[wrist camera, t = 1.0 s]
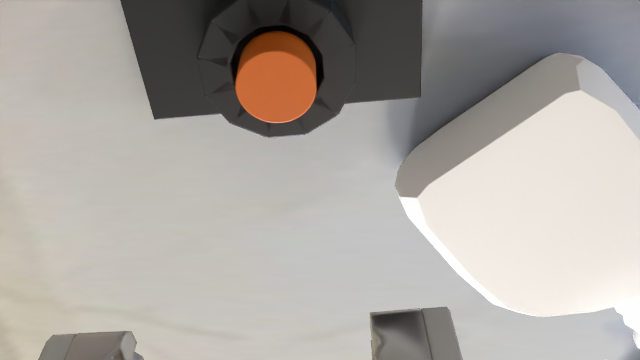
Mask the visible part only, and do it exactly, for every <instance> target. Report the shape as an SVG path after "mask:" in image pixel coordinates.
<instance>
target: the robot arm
mask: <svg viewBox="0 0 640 360" xmlns="http://www.w3.org/2000/svg"><path fill="white" fill-rule="evenodd" d="M370 329H371V338H372V340H371V349H372V360H463V358H462V355H461V351H460V347H459V343H458V340H457V336H456V332H455V328H454V325H453V321H452V317H451V313H450V310H449V309H448V308H447V307H437V308H423V309H421V310H420V308H418V309H406V310H394V311H383V312H371V313H370ZM136 344H137V342H136V339H135V337H134V335H133V333H132V331H118V332H96V333H78V334H61V335H52V336H51V337H50V339H49V340H48V341H47V342H46V343H45V346H44V348H43V350H42V352H41V355H40V357H39V359H38V360H144V359H143V357H142V356H141V355H139V354H137V353H136V352H134V351H135V347H136Z"/></svg>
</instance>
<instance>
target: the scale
mask: <svg viewBox="0 0 640 360" xmlns="http://www.w3.org/2000/svg"><path fill="white" fill-rule="evenodd" d="M120 1H121V4H122V8H123V11H124V15H125V18H126V22H127V25H128V29H129V32H130V36H131V39H132V43H133V46H134V50H135V53H136V57H137V60H138V64H139V67H140V71H141V74H142V78H143V81H144V85H145V88H146V92H147V95H148V99H149V102H150V106H151V109H152V113H153V116H154V119H168V118H180V117H192V116H204V115H216V114H222V115H223V116H224V117H225V118H226V119H227V121H228V122H229V123H232V124H233V125H235V126H238V127H241V128H243V129H246V130H249V131H251V132H254V133H256V134H259V135H262V136H264V137H268V138H272V137H284V136H296V135H305V134H307V133H309V132H311V131H312V130H314V129H316V128H317V127H319V126H321V125H322V124H324V123H326V122H327V121H329V120H330V119H332V118H334V117H335V116H337V114H339V113H340V111H341V109H342V107H343V105H344V104H348V103H360V102H372V101H384V100H396V99H408V98H420V97H421V54H422V3H423V0H120ZM269 31H284V32H288V33H291V34H293V35H295V36H297V37H299V38H300V39H302V40H303V41H304V42H305V43H306V44H307V45H308V46H309V48H310V49H311V51H312V53H313V55H314V58H315V63H316V84H317V90H316V96H315V99H314V101H313V103H312V105H311V107H310V108H309V109H308V110H307V111H306V112H305V113H304V114H303V115H301V116H300V117H298V118H296V119H294V120H292V121H289V122H284V123H270V122H266V121H262V120H260V119H258V118H256V117H254V116H252V115H251V114H250V113H248V112H247V111H246V110H245V109H244V107H243V106H242V105H241V103H240V101H239V99H238V97H237V94H236V89H235V81H236V76H237V71H238V66H239V61H240V57H241V54H242V51H243V49H244V48H245V46H246V45H247V44H248V43H249V41H251V40H252V39H253V38H254V37H256V36H258V35H260V34H262V33H265V32H269Z"/></svg>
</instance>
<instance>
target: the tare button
mask: <svg viewBox="0 0 640 360" xmlns="http://www.w3.org/2000/svg"><path fill="white" fill-rule="evenodd" d="M235 89H236V94H237V97H238V99H239V101H240V103H241V105H242V106H243V107H244V109H245V110H246V111H247V112H248V113H250V114H251V115H252V116H254V117H256V118H258V119H260V120H262V121H266V122H270V123H284V122H289V121H292V120H294V119H296V118H298V117H300V116H301V115H303V114H304V113H305V112H306V111H307V110H308V109H309V108H310V107H311V105H312V103H313V101H314V99H315V96H316V90H317V84H316V63H315V58H314V55H313V53H312V51H311V49H310V48H309V46H308V45H307V44H306V43H305V42H304V41H303V40H302V39H300V38H299V37H297V36H295V35H293V34H291V33H288V32H284V31H269V32H265V33H262V34H260V35H258V36H256V37H254V38H253V39H252V40H251V41H249V43H248V44H247V45H246V46H245V48H244V49H243V51H242V54H241V57H240V61H239V66H238V71H237V76H236V81H235Z"/></svg>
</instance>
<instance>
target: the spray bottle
mask: <svg viewBox="0 0 640 360" xmlns="http://www.w3.org/2000/svg"><path fill="white" fill-rule="evenodd" d="M395 187H396V190H397V193H398V195H399V198H400V200H401V202H402V205H403V207H404V209H405V211H406V213H407V215H408V217H409V219H410V220H411V221H412V222H413V223H414V224H415V225H416V226H417V228H418V229H419V230H420V231H421V232H422V233H423V234H424V236H425V237H426V238H427V239H428V240H429V241H430V242H431V243H432V245H433V246H434V247H435V248H436V249H437V250H438V251H439V253H440V254H441V255H442V256H443V257H444V258H445V259H446V261H447V262H448V263H449V264H450V265H451V266H452V267H453V268H454V270H455V271H456V272H457V273H458V274H459V275H460V276H461V277H463V278H464V279H465V280H466V281H467V282H468V283H469V284H471V285H472V286H473V287H474V288H475V289H476V290H477V291H479V292H480V293H481V294H482V295H483V296H484V297H486V298H487V299H488V300H489V301H490V302H491V303H492V304H495V305H498V306H501V307H504V308H507V309H510V310H513V311H516V312H519V313H524V314H528V315H533V316H537V317H547V316H557V315H568V314H578V313H588V312H595V311H599V310H603V309H607V308H611V307H615V309H616V311H617V312H618V313H620V314H622V315H623V317H624V323H625V324H626V325H627V326H629V327H631V328H632V329H634V333H633V337H632V338H633V340H634V342H635V343H636V345H637V347H638V348H640V110H639V109H638V108H637V107H636V105H635V104H634V103H633V102H632V101H631V100H630V99H629V98H628V97H627V96H626V95H625V93H624V92H623V91H622V90H621V89H620V88H619V87H618V86H617V85H616V84H615V82H614V81H613V80H612V79H611V78H610V77H609V76H608V75H607V74H606V73H605V71H604V70H603V69H602V68H600V67H599V66H597V65H595V64H594V63H592V62H590V61H589V60H587V59H585V58H584V57H582V56H578V55H572V54H565V53H556V54H553V55H550V56H547V57H545V58H543V59H542V60H540V61H539V62H537V63H536V64H534V65H533V66H532V67H530V68H529V69H527V70H526V71H524V72H523V73H521V74H520V75H518V76H517V77H515V78H514V79H512V80H511V81H510V82H508V83H507V84H505V85H504V86H502V87H501V88H499V89H498V90H496V91H495V92H493V93H492V94H490V95H489V96H488V97H486V98H485V99H483V100H482V101H480V102H479V103H477V104H476V105H474V106H473V107H471V108H470V109H468V110H467V111H465V112H464V113H463V114H461V115H460V116H458V117H457V118H455V119H454V120H452V121H451V122H449V123H448V124H446V125H445V126H443V127H442V128H441V129H439V130H438V131H437V132H435V133H434V134H433V135H431V136H430V137H429V138H427V139H426V140H425V141H423V142H422V143H421V144H419V145H418V146H417V147H415V148H414V149H413V151H412V152H411V153H410V154H409V155H408V156H407V158H406V159H405V160H404V161H403V163H402V164H401V166H400V168H399V170H398V172H397V177H396V182H395ZM601 360H602V359H601Z"/></svg>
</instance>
